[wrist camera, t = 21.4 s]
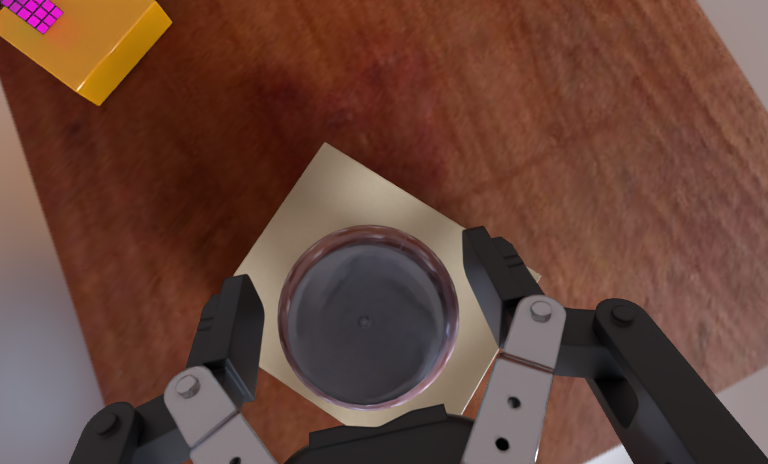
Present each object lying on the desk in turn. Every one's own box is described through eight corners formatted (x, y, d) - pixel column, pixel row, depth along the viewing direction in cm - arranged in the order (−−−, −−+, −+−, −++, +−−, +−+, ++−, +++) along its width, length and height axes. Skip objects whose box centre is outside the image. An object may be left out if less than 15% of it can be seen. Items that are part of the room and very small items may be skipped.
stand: (512, 277, 26) (542, 275, 21) (416, 440, 25) (424, 478, 20) (335, 167, 27) (324, 141, 22) (233, 318, 26) (198, 325, 21)
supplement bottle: (302, 342, 21) (206, 407, 9) (336, 234, 21) (284, 176, 10) (412, 375, 20) (447, 483, 9) (442, 265, 21) (507, 240, 10)
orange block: (91, -36, 29) (41, -90, 25) (173, 22, 29) (137, -23, 24) (16, 45, 28) (-48, 3, 24) (99, 107, 28) (49, 75, 24)
